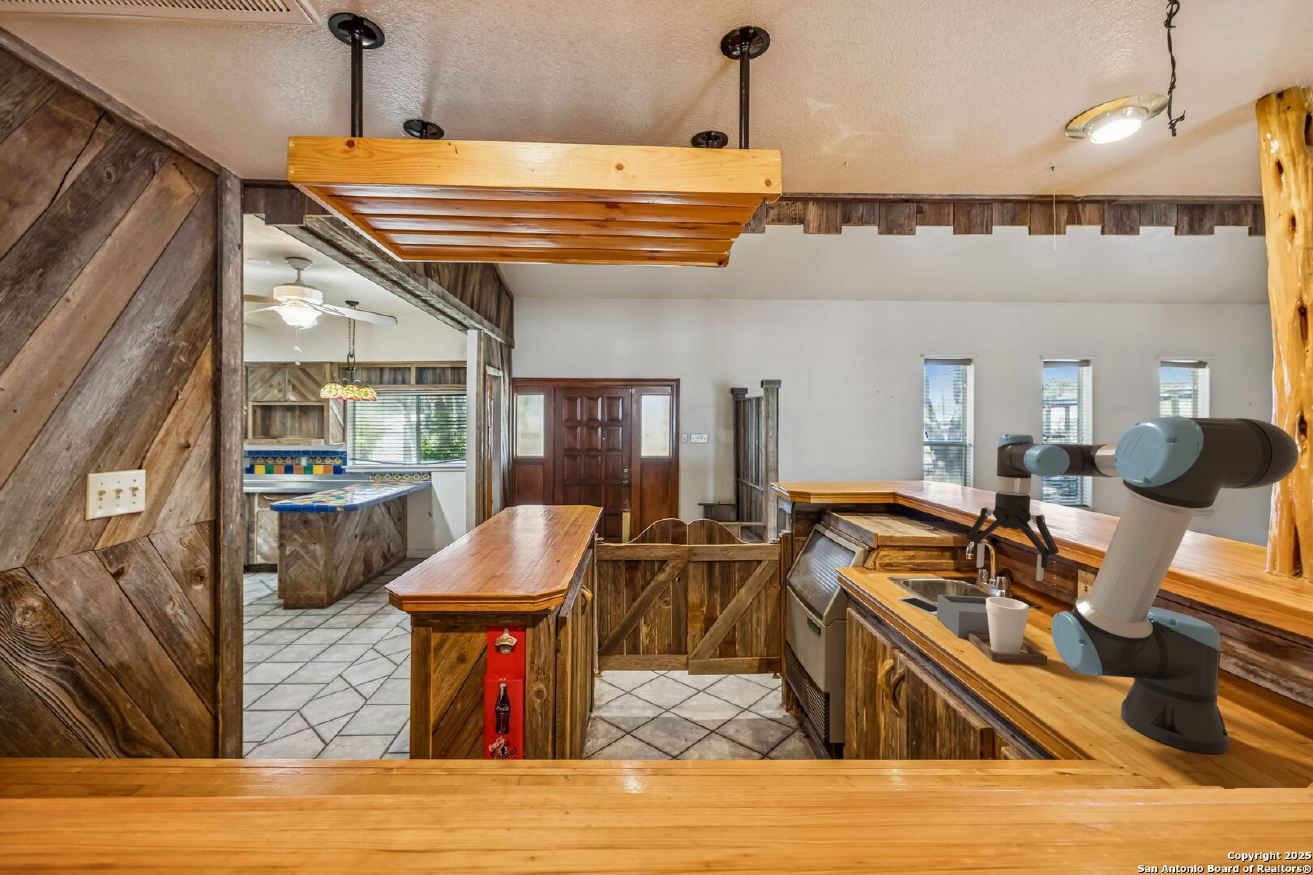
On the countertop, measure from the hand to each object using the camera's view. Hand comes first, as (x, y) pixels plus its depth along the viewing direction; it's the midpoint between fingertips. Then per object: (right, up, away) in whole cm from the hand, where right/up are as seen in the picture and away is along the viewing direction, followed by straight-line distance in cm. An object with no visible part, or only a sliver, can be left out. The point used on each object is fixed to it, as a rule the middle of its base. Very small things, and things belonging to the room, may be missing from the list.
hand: (1008, 573), depth 137 cm
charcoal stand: (0, -20, +15) cm, 26 cm away
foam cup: (0, -21, +1) cm, 21 cm away
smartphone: (-5, -20, +34) cm, 40 cm away
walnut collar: (0, -21, +1) cm, 21 cm away
